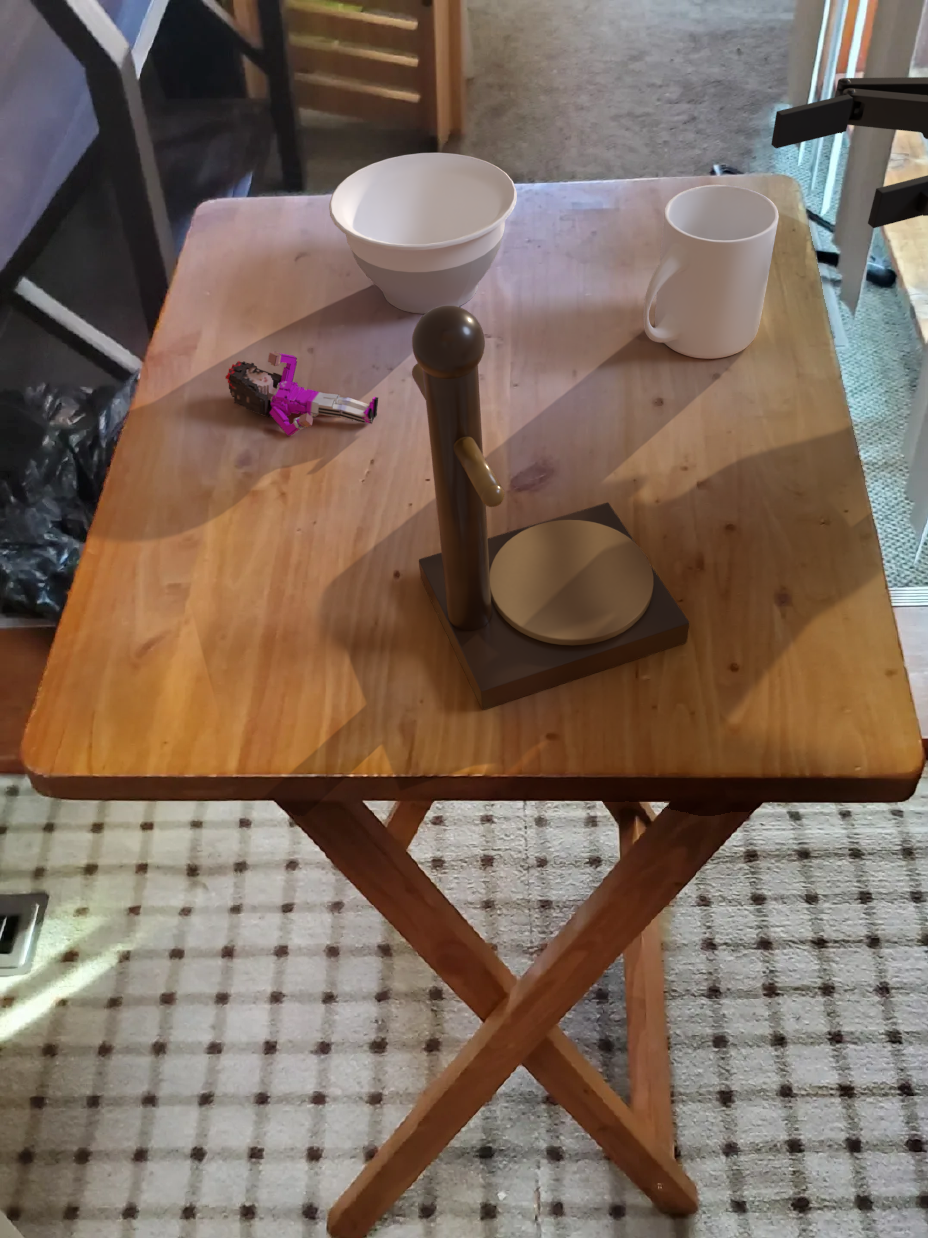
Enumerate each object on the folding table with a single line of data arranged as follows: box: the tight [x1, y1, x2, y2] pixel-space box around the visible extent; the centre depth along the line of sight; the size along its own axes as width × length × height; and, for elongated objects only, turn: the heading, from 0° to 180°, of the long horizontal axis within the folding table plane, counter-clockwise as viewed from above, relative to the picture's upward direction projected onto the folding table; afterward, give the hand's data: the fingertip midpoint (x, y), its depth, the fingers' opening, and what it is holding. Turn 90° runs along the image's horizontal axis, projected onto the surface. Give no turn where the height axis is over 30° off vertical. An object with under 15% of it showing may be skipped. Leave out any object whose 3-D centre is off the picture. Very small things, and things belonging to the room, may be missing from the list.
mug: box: [642, 184, 780, 360], centre depth 86 cm, size 9×12×11 cm
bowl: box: [328, 152, 518, 315], centre depth 94 cm, size 16×16×8 cm
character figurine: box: [224, 351, 379, 437], centre depth 84 cm, size 6×5×12 cm
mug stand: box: [411, 305, 690, 711], centre depth 62 cm, size 14×12×24 cm
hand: (822, 167), depth 82 cm, fingers open, 13 cm apart
